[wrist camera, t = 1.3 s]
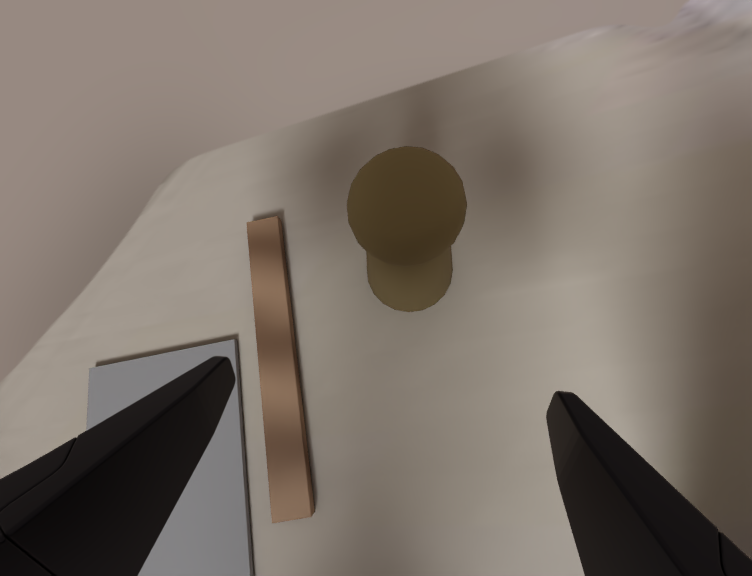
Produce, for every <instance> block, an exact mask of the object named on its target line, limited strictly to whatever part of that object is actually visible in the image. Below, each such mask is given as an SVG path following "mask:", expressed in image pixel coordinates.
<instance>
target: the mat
mask: <svg viewBox="0 0 752 576" xmlns="http://www.w3.org/2000/svg"><path fill="white" fill-rule="evenodd" d="M213 356H224V357H228V358H229V359H230V361H231V364H232V367H233V370H234V373H235V377H236V382H235V385H234V388H233V390H232V393H231V395H230V398H229V400H228V402H227V405H226V407H225V409H224V412H223V414H222V417H221V419H220V421H219V424H218V426H217V428H216V431H215V433H214V435H213V437H212V439H211V441H210V443H209V444H208V446H207V448H206V450H205V452H204V454H203V456H202V457H201V459H200V461H199V463H198V465H197V467H196V469H195V470H194V472H193V474H192V476H191V478H190V480H189V482H188V483H187V485H186V487H185V489H184V491H183V493H182V494H181V496H180V498H179V500H178V502H177V504H176V506H175V507H174V509H173V511H172V513H171V515H170V517H169V519H168V520H167V522H166V524H165V526H164V528H163V530H162V532H161V533H160V535H159V537H158V539H157V541H156V543H155V545H154V546H153V548H152V550H151V552H150V554H149V556H148V558H147V559H146V561H145V563H144V565H143V567H142V569H141V570H140V572H139V574H138V576H253V561H252V547H251V532H250V518H249V504H248V489H247V475H246V461H245V446H244V432H243V418H242V403H241V389H240V374H239V360H238V346H237V340H236V339H233V340H228V341H223V342H218V343H213V344H208V345H203V346H198V347H193V348H188V349H183V350H178V351H173V352H168V353H163V354H158V355H153V356H148V357H143V358H138V359H133V360H128V361H123V362H118V363H113V364H108V365H103V366H98V367H93V368H89V387H88V408H87V430H88V429H90V428H92V427H94V426H95V425H97V424H99V423H100V422H102V421H104V420H105V419H107V418H109V417H111V416H112V415H114V414H116V413H117V412H119V411H121V410H123V409H124V408H126V407H128V406H129V405H131V404H133V403H134V402H136V401H138V400H140V399H141V398H143V397H145V396H146V395H148V394H150V393H151V392H153V391H155V390H157V389H158V388H160V387H162V386H163V385H165V384H167V383H168V382H170V381H172V380H174V379H175V378H177V377H179V376H180V375H182V374H184V373H186V372H187V371H189V370H191V369H192V368H194V367H196V366H197V365H199V364H201V363H203V362H204V361H206V360H208V359H209V358H211V357H213ZM87 430H86V431H87Z"/></svg>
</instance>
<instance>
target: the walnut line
mask: <svg viewBox="0 0 752 576" xmlns="http://www.w3.org/2000/svg"><path fill="white" fill-rule="evenodd" d="M247 233H248V245H249V257H250V268H251V280H252V292H253V304H254V315H255V327H256V339H257V351H258V362H259V374H260V386H261V398H262V409H263V421H264V433H265V445H266V456H267V468H268V480H269V492H270V503H271V515H272V523H277V522H283V521H289V520H295V519H301V518H307V517H311V516H312V515H313V513H314V512H315V508H314V499H313V491H312V482H311V474H310V465H309V456H308V448H307V439H306V430H305V422H304V413H303V404H302V396H301V387H300V378H299V370H298V361H297V352H296V344H295V335H294V326H293V318H292V309H291V300H290V292H289V283H288V274H287V266H286V257H285V249H284V240H283V231H282V223H281V220H280V218H279V217H278V216H274V217H270V218H265V219H261V220H256V221H252V222H247Z"/></svg>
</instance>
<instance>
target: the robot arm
mask: <svg viewBox="0 0 752 576" xmlns="http://www.w3.org/2000/svg"><path fill="white" fill-rule="evenodd" d="M235 382H236V377H235V373H234V370H233V367H232V364H231V361H230V359H229V358H228V357H224V356H213V357H211V358H209V359H208V360H206V361H204V362H203V363H201V364H199V365H197V366H196V367H194V368H192V369H191V370H189V371H187V372H186V373H184V374H182V375H180V376H179V377H177V378H175V379H174V380H172V381H170V382H168V383H167V384H165V385H163V386H162V387H160V388H158V389H157V390H155V391H153V392H151V393H150V394H148V395H146V396H145V397H143V398H141V399H140V400H138V401H136V402H134V403H133V404H131V405H129V406H128V407H126V408H124V409H123V410H121V411H119V412H117V413H116V414H114V415H112V416H111V417H109V418H107V419H105V420H104V421H102V422H100V423H99V424H97V425H95V426H94V427H92V428H90V429H88V430H87V431H85V432H83V433H82V434H80V435H78V437H77V438H73V439H71V440H70V441H68V442H66V443H64V444H63V445H61V446H59V447H58V448H56V449H54V450H52V451H51V452H49V453H47V454H45V455H44V456H42V457H40V458H38V459H37V460H35V461H33V462H31V463H30V464H28V465H26V466H24V467H22V468H20V469H18V470H17V471H15V472H13V473H11V474H9V475H7V476H5V477H4V478H2V479H0V576H138V574H139V572H140V570H141V569H142V567H143V565H144V563H145V561H146V559H147V558H148V556H149V554H150V552H151V550H152V548H153V546H154V545H155V543H156V541H157V539H158V537H159V535H160V533H161V532H162V530H163V528H164V526H165V524H166V522H167V520H168V519H169V517H170V515H171V513H172V511H173V509H174V507H175V506H176V504H177V502H178V500H179V498H180V496H181V494H182V493H183V491H184V489H185V487H186V485H187V483H188V482H189V480H190V478H191V476H192V474H193V472H194V470H195V469H196V467H197V465H198V463H199V461H200V459H201V457H202V456H203V454H204V452H205V450H206V448H207V446H208V444H209V443H210V441H211V439H212V437H213V435H214V433H215V431H216V428H217V426H218V424H219V421H220V419H221V417H222V414H223V412H224V409H225V407H226V405H227V402H228V400H229V398H230V395H231V393H232V390H233V388H234V385H235ZM546 419H547V426H548V431H549V437H550V443H551V448H552V454H553V460H554V465H555V471H556V476H557V481H558V484H559V488H560V492H561V495H562V499H563V502H564V505H565V509H566V512H567V516H568V519H569V523H570V526H571V529H572V533H573V536H574V540H575V543H576V547H577V550H578V553H579V557H580V560H581V564H582V567H583V571H584V574H585V576H752V560H751V559H750V558H749V557H748V556H746V555H745V554H744V553H743V552H742V551H741V550H740V549H739V548H738V547H737V546H736V545H735V544H734V543H733V542H732V541H731V540H729V539H728V538H727V537H726V536H725V535H724V534H723V533H721V532H718V529H717V527H715V526H714V525H713V524H712V523H711V522H710V521H709V520H708V519H707V518H706V517H705V516H704V515H703V514H702V513H701V512H700V511H699V510H697V509H696V508H695V507H694V506H693V505H692V504H691V503H690V502H689V501H688V500H687V499H686V498H685V497H684V496H683V495H682V494H681V493H679V492H678V491H677V490H676V489H675V488H674V487H673V486H672V485H671V484H670V483H669V482H668V481H667V480H666V479H665V478H664V477H663V476H661V475H660V474H659V473H658V472H657V471H656V470H655V469H654V468H653V467H652V466H651V465H650V464H649V463H648V462H647V461H646V460H645V459H643V458H642V457H641V456H640V455H639V454H638V453H637V452H636V451H635V450H634V449H633V448H632V447H631V446H630V445H629V444H628V443H626V442H625V441H624V440H623V439H622V438H621V437H620V436H619V435H618V434H617V433H616V432H615V431H614V430H613V429H612V428H611V427H610V426H608V425H607V424H606V423H605V422H604V421H603V420H602V419H601V418H600V417H599V416H598V415H597V414H596V413H595V412H594V411H593V410H592V409H590V408H589V407H588V406H587V405H586V404H585V403H584V402H583V401H582V400H581V399H580V398H579V397H578V396H577V395H575V394H574V393H572V392H564V391H556V392H555V393H554V395H553V397H552V400H551V402H550V405H549V408H548V410H547V415H546Z"/></svg>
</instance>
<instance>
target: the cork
mask: <svg viewBox="0 0 752 576" xmlns="http://www.w3.org/2000/svg"><path fill="white" fill-rule="evenodd" d="M466 207H467V202H466V197H465V192H464V187H463V182H462V180H461V178H460V177H459V175H458V173H457V172H456V170H455V169H454V167H453V166H452V165H451V164H449V163H448V162H447V161H446V160H444V159H443V158H442V157H441V156H439V155H438V154H436V153H434V152H431V151H429V150H426V149H424V148H419V147H409V146H404V147H399V148H393V149H389V150H387V151H385V152H383V153H381V154H378V155H376V156H375V157H374V158H372V159H371V160H370V161H369V162H368V163H367V164H366V165H365V166H363V167H362V168H361V169H360V171H359V172H358V174H357V176H356V177H355V179H354V180H353V182H352V184H351V187H350V192H349V196H348V200H347V211H348V221H349V225H350V227H351V229H352V231H353V233H354V235H355V237H356V239H357V241H358V243H359V244H360V245H361V246H362V247H363V248H364V249H365V250H366V253H367V274H368V282H369V284H370V287H371V289H372V291H373V293H374V294H375V295H376V296H377V298H378V299H379V300H380V301H381V302H382V303H383V304H385V305H387V306H389V307H391V308H393V309H395V310H400V311H406V312H412V311H420V310H424V309H426V308H428V307H430V306H432V305H434V304H435V303H436V302H438V301H439V300H440V299H441V298H442V297H443V296H444V295H445V293H446V291H447V289H448V287H449V285H450V283H451V278H452V271H453V268H452V255H451V245H452V244H453V243H454V242H455V240H456V238H457V236H458V234H459V232H460V230H461V229H462V227H463V224H464V221H465V214H466Z"/></svg>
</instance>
